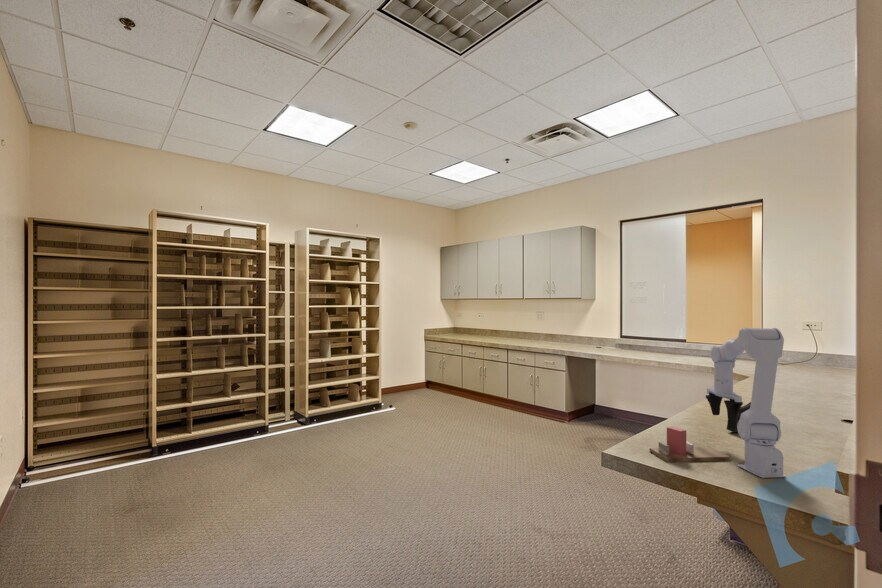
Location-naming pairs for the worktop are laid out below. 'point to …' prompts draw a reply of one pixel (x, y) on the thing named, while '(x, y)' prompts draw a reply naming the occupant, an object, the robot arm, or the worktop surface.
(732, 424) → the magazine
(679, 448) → the book
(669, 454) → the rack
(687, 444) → the sliding bookend
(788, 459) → the worktop surface
